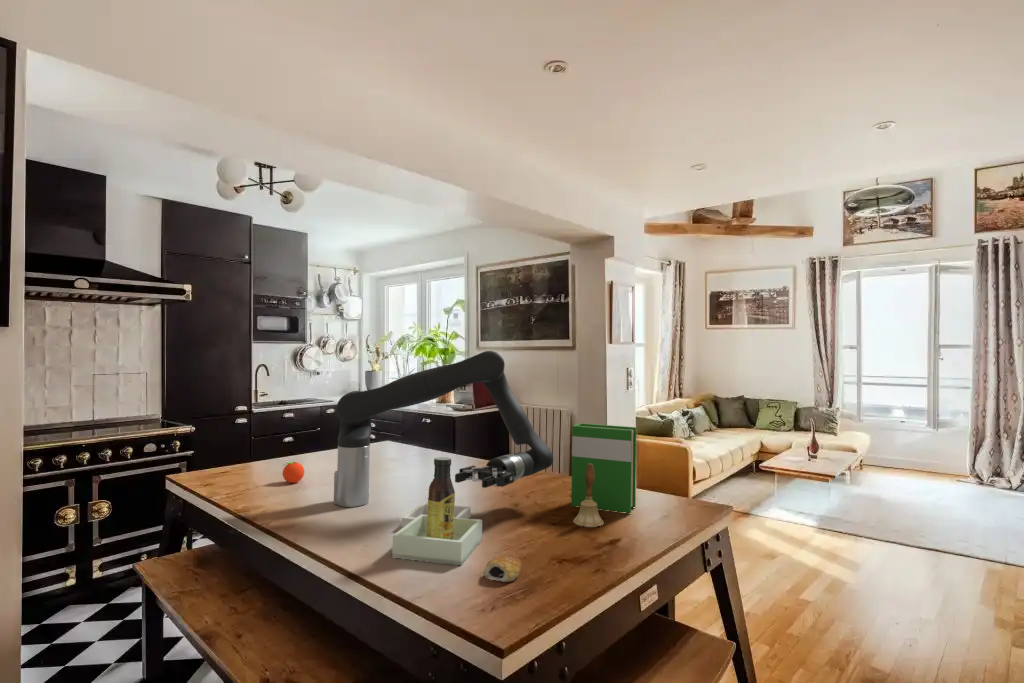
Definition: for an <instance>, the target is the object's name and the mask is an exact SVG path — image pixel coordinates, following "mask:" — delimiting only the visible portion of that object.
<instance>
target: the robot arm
mask: <svg viewBox="0 0 1024 683" xmlns="http://www.w3.org/2000/svg"><path fill="white" fill-rule="evenodd" d="M505 366H506V365H505V360H504V358H503V356H502V355H501V354H500V353H498V352H496V351H493V350H485V351H483V352H480V353H478V354H475V355H473V356H470V357H468V358H466V359H463V360H461V361H457V362H454V363H451V364H450V363H449V364H445V365H441V366H437V367H433V368H429V369H425V370H424V369H423V370H420V371H418V372H414V373H410V374H408V375H405V376H403V377H401V378H398V379H396V380H394V381H391V382H389V383H387V384H385V385H382V386H379V387H377V388H372V389H367V390H363V391H362V390H361V391H360V390H353V391H350V392H347V393H345V394H344V395H342V396H341V397H340V398H339V400H338V402H337V403H336V407H335V408H336V409H335V411H336V415H337V417H338V418H339V419H340V421H339V422H340V424H339V425H340V426H339V432H338V436H337V464H336V465H337V466H336V467H337V469H336V470H335V471H334V473H333V474H334V475H333V504H334V505H337V506H339V507H344V508H345V507H347V508H349V507H350V508H352V507H353V508H354V507H360V506H364V505H367V504H368V503H369V501H370V457H371V456H370V455H371V454H370V452H371V451H370V450H371V449H370V448H371V447H370V446H371V434H372V422H373V420H372V418H373V417H375V416H377V415H380V414H382V413H384V412H388V411H391V410H396V409H402V408H406V407H407V408H408V407H411V406H415V405H418V404H422V403H426V402H429V401H432V400H435V399H438V398H441V397H443V396H445V395H447V394H449V393H452V392H453V391H456V390H457V389H459V388H461V387H464V386H467V385H470V384H476V383H482V384H483V386H484V387H485V389H486V390H487V391H488V393H489V394H490V396H491V398H492V400H493V402H494V403H495V406H496V407H497V409H498V411H499V414H500V416H501V418H502V421H503V423H504V424H505V427H506V429H507V431H508V433H509V435H510V437H511V439H512V441H513V442H514V444H515V445H517V446H521V445H527V446H529V447H530V449H528V450H526V451H524V452H523V451H522V452H521V451H520V452H516V453H512V454H511V453H510V454H505V455H500V456H498V457H494V458H491V459H489V461H488V462H487V463H486V465H483V466H481V467H480V466H479V467H478V466H477V467H476V465H470V466H465V467H461V468H459V470H458V472H457V473H455V475H454V482H455V483H461V482H466V481H472V482H474V483H475V482H481V488H483V489H486V488H489V487H492V486H494V487H502V488H503V487H506V486H508V485H510V484H512V483H514V482H516V481H517V480H519V479H522V478H525V477H528V476H532V475H535V474H538V473H540V472H541V471H543V470H545V469H548V468H550V467H551V466H552V465H553V462H554V455H553V452H552V450H551V449H550V447H549V446H548V445H547V444H546V443H545V441H543V439H542V438H541V436H539V434H538V433H537V432H536V431H535V429H534V428H533V426H532V423H531V422H530V420H529V418H528V416H527V414H526V412H525V411H524V409H523V408H522V406H521V404H520V403H519V401H518V400H517V398H516V396H515V395H514V394H513V391H512V390H511V388H510V386H509V382H508V381H507V377H506V374H505ZM476 475H477V477H476Z"/></svg>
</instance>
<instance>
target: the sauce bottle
mask: <svg viewBox="0 0 1024 683" xmlns="http://www.w3.org/2000/svg"><path fill="white" fill-rule="evenodd" d="M433 465H434V472H433V479H432V481H431V482H430V485H429V487H428V497H427V503H428V510H427V537H430V538H440V539H450V540H453V534H454V507H455V506H456V504H455V501H456V499H455V498H456V497H455V496H456V491H455V489H454V488H455V487H454V485H453V482H452V478H451V466H452V458H451V457H446V456H442V457H441V456H440V457H439V456H438V457H435V458H434V459H433Z"/></svg>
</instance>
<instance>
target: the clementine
mask: <svg viewBox="0 0 1024 683" xmlns="http://www.w3.org/2000/svg"><path fill="white" fill-rule="evenodd" d="M282 467H283V470H282V477H283V479H284V480H285V482H287V483H291V484H295V483H298V482H300V481H301V480H302V479H303V478H304V475H305V468H304V466H303V465H302V463H300V462H295V461H293V462H287V463H285V464H283V465H282Z"/></svg>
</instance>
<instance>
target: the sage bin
mask: <svg viewBox="0 0 1024 683" xmlns="http://www.w3.org/2000/svg"><path fill="white" fill-rule="evenodd" d="M482 541H483V519H478V518H477V519H476V518H470V519H468V518H457V517H454V534H453V540H450V539H440V538H430V537H427V515H423V514H421V515H419V516H418V517H417V518H415V519H414V520H413V521H411V522H410V523H409V524H407V525H406V526H405V527H403V528H402V527H401V529H399V530H398V531H397V532H395V533H394V534H392V550H391V551H392V556H391V557H392V559H396V558H401V559H400V560H405V559H411V560H410V561H414V560H418V561H417V562H423V561H425V562H424V563H433V564H441V565H442V564H443V563H444V564H443V565H450V564H452V566H458V565H461V566H462V565H464V563H465V562H466V561H467V559H468V558H469V557H470V556H471V555H472V553H473V552H474V551H475V550H476V549H477V547H478V546H479V545H480V543H481V542H482ZM478 544H479V545H478ZM474 549H475V550H474ZM473 550H474V551H473ZM469 555H470V556H469ZM464 561H465V562H464Z"/></svg>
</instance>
